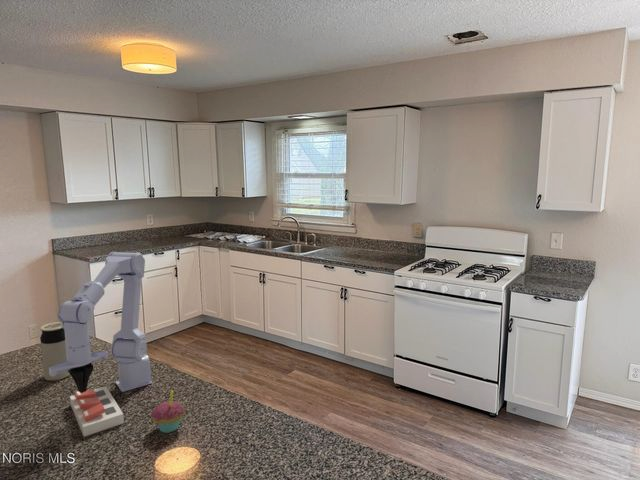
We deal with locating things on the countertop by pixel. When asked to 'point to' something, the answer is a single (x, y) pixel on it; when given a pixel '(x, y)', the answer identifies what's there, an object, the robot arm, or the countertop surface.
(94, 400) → the rocker middle
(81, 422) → the power strip
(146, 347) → the robot arm
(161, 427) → the cupcake
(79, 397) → the rocker
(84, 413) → the rocker
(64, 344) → the travel mug
